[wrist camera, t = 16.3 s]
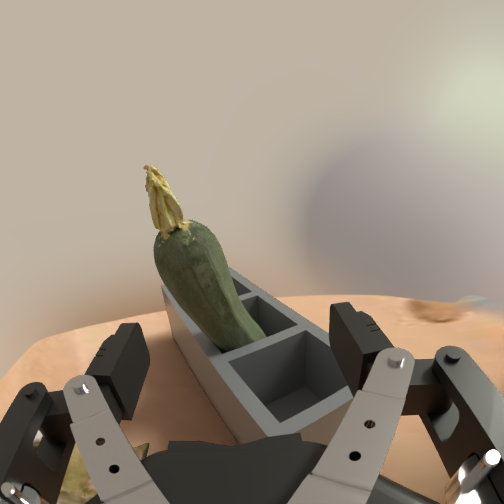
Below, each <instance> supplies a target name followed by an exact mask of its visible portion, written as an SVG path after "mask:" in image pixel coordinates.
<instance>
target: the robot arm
mask: <svg viewBox="0 0 504 504" xmlns="http://www.w3.org/2000/svg"><path fill="white" fill-rule="evenodd" d="M329 342H330V347H331V350H332V352H333V354H334V356H335V359H336V361H337V363H338V365H339V367H340V369H341V372H342V374H343V376H344V378H345V380H346V382H347V385H348V387H349V389H350V391H351V393H352V396H353V398H354V399H353V401H352V403H351V405H350V407H349V409H348V411H347V413H346V415H345V416H344V418H343V420H342V422H341V424H340V426H339V428H338V429H337V431H336V433H335V435H334V437H333V438H332V440H331V442H330V443H329V445H325V444H321V443H317V442H310V441H302V437H301V433H300V432H299V433H293V434H286V435H278V436H270V437H265V438H262V439H259V440H255V441H252V442H249V443H245V444H242V445H238V446H226V445H219V444H213V443H207V442H202V441H169V444H168V450H165V451H161V452H157V453H155V454H152V455H150V456H148V457H146V458H144V459H142V460H140V458H139V457H138V455H137V454H136V452H135V450H134V449H133V447H132V446H131V444H130V442H129V441H128V439H127V437H126V436H125V434H124V432H123V430H122V429H121V427H120V425H119V424H120V421H121V420H132V417H133V414H134V411H135V408H136V405H137V402H138V398H139V395H140V392H141V389H142V386H143V383H144V380H145V377H146V374H147V371H148V368H149V365H150V356H149V351H148V348H147V345H146V342H145V339H144V336H143V332H142V329H141V326H140V324H139V323H122V324H121V325H120V326H119V328H118V330H117V331H116V333H115V335H111V336H110V337H108V338H107V339H106V340H105V341H104V342H103V343H102V345H101V347H100V348H99V350H98V352H97V353H96V357H94V359H93V360H92V362H91V364H90V366H89V367H88V369H87V371H86V373H85V374H84V375H80V376H76V377H74V378H72V379H70V380H69V381H68V382H67V383H66V384H65V386H64V389H63V390H61V391H54V392H48V391H47V389H46V387H45V385H44V384H42V383H40V382H33V383H30V384H27V385H26V386H24V387H23V388H22V389H21V390H20V391H19V393H18V394H17V396H16V397H15V399H14V401H13V402H12V404H11V406H10V407H9V409H8V411H7V413H6V414H5V416H4V418H3V419H2V421H1V423H0V504H57V501H58V497H59V494H60V490H61V487H62V483H63V480H64V477H65V473H66V470H67V467H68V464H69V461H70V458H71V455H72V452H73V449H74V446H75V443H76V444H77V447H78V450H79V452H80V455H81V457H82V460H83V462H84V465H85V467H86V469H87V472H88V474H89V476H90V478H91V481H92V483H93V485H94V487H95V489H96V491H97V493H98V494H97V495H95V496H94V497H93V498H91V499H90V500H89V501H87V502H86V503H84V504H440V503H438V502H436V501H434V500H432V499H429V498H427V497H425V496H423V495H421V494H419V493H416V492H414V491H412V490H410V489H408V488H406V487H404V486H402V485H400V484H398V483H396V482H394V481H392V480H390V479H388V478H386V477H384V476H383V475H381V474H379V473H380V470H381V468H382V466H383V463H384V461H385V458H386V456H387V453H388V451H389V448H390V445H391V442H392V440H393V437H394V434H395V431H396V428H397V425H398V422H399V419H400V416H404V415H419V416H420V418H421V420H422V422H423V424H424V425H425V427H426V429H427V431H428V433H429V435H430V437H431V439H432V441H433V443H434V445H435V447H436V449H437V451H438V453H439V456H440V458H441V460H442V462H443V464H444V466H445V468H446V470H447V472H448V475H449V477H450V480H449V482H448V483H447V485H446V488H445V497H446V504H504V397H503V396H502V394H501V393H500V392H499V391H498V389H497V388H496V387H495V386H494V384H493V383H492V382H491V381H490V379H489V378H488V377H487V376H486V375H485V373H484V372H483V371H482V370H481V369H480V367H479V366H478V365H477V364H476V363H475V361H474V360H473V359H472V358H471V357H470V356H469V354H468V353H467V352H466V351H464V350H463V349H461V348H459V347H455V346H445V347H442V348H440V349H439V350H438V351H437V352H436V355H435V358H434V359H414V357H413V355H412V354H411V353H410V352H408V351H407V350H404V349H401V348H395V347H394V346H393V345H392V343H391V342H390V341H389V339H388V338H387V337H386V335H385V334H384V333H383V332H382V330H380V328H379V326H378V325H376V322H375V321H374V320H373V318H372V317H371V316H369V315H368V314H366V313H364V312H362V311H359V312H356V311H355V309H354V308H353V307H352V305H351V304H350V303H349V302H343V303H336V304H331V306H330V322H329ZM38 430H39V431H40V432H41V434H42V435H43V436H42V438H41V441H40V443H39V445H38V448H37V450H36V453H35V451H34V447H33V442H34V439H35V436H36V434H37V432H38Z"/></svg>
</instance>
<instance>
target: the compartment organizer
mask: <svg viewBox="0 0 504 504" xmlns="http://www.w3.org/2000/svg"><path fill="white" fill-rule="evenodd" d="M229 271H230V275H231V278H232V280H233V283H234V286H235V289H236V292H237V294H238V296H239V299H240V300H241V302H242V304H243V306H244V307H245V309H246V310H247V312H248V313H249V315H250V316H251V318H252V319H253V320H254V321H255V322H256V323H257V324H258V325H259V327H260V328H261V329H262V331H263V332H264V334H265V335H266V338H264V339H261V340H259V341H256V342H253V343H251V344H248V345H246V346H243V347H241V348H237V349H235V350H232V351H229V352H226V353H224V354H223V353H222V352H221V351H220V350H219V349H218V348H217V347H216V346H215V345H214V344H213V342H212V341H211V340H210V339H209V338H208V337H207V336H206V335H205V334H204V333H203V332H202V331H201V330H200V328H199V327H198V326H197V325H196V324H195V323H194V321H193V320H192V319H191V318H190V317H189V316H188V315H187V314H186V313H185V312H184V310H183V309H182V308H181V307H180V306H179V304H178V303H177V302H176V300H175V299H174V297H173V296H172V295H171V293H170V292H169V290H168V289H167V287H166V286H165V285H162V286H161V288H162V293H163V297H164V302H165V306H166V310H167V314H168V318H169V322H170V326H171V330H172V334H173V338H174V340H175V342H176V343H177V345H178V347H179V349H180V351H181V352H182V354H183V356H184V358H185V360H186V361H187V363H188V365H189V367H190V368H191V370H192V372H193V373H194V375H195V377H196V378H197V380H198V382H199V383H200V385H201V387H202V388H203V390H204V392H205V393H206V395H207V397H208V398H209V400H210V401H211V403H212V404H213V406H214V408H215V409H216V411H217V412H218V414H219V415H220V417H221V418H222V420H223V421H224V423H225V424H226V426H227V427H228V429H229V430H230V432H231V433H232V435H233V436H234V438H235V439H236V441H237V442H238V444H239V445H242V444H245V443H249V442H252V441H255V440H259V439H262V438H265V437H270V436H278V435H286V434H293V433H299V432H300V433H301V437H302V441H310V442H317V443H321V444H325V445H329V443H330V442H331V440H332V438H333V437H334V435H335V433H336V431H337V429H338V428H339V426H340V424H341V422H342V420H343V418H344V416H345V415H346V413H347V411H348V409H349V407H350V405H351V403H352V401H353V399H354V398H353V396H352V393H351V391H350V389H349V387H348V385H347V382H346V380H345V378H344V376H343V374H342V372H341V369H340V367H339V365H338V363H337V361H336V359H335V356H334V354H333V352H332V350H331V347H330V342H329V333H327V332H326V331H324V330H323V329H321V328H319V327H318V326H316V325H315V324H313V323H312V322H310V321H309V320H307V319H306V318H304V317H303V316H301V315H300V314H298V313H297V312H295V311H294V310H292V309H291V308H289V307H288V306H286V305H285V304H283V303H282V302H280V301H279V300H277V299H276V298H274V297H273V296H271V295H270V294H268V293H267V292H265V291H264V290H262V289H261V288H259V287H258V286H256V285H255V284H253V283H252V282H250V281H249V280H248V279H246V278H245V277H243V276H242V275H240V274H239V273H237V272H236V271H234V270H233V269H232V268H230V267H229Z"/></svg>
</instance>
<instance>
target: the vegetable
mask: <svg viewBox="0 0 504 504" xmlns="http://www.w3.org/2000/svg"><path fill="white" fill-rule="evenodd" d="M144 169H147V173H148V174H147V177H146V185H145V187H146V191H147V192H148V195H149V198H150V204H149V206H150V211H151V215H152V220H153V223H154V226H155V227H156V228H157V229H159V230H160V232H159V233H158V235H157V237H156V240H155V244H154V259H155V264H156V267H157V269H158V272H159V275H160V277H161V279H162V280H163V282H164V284H165V286H166V287H167V289H168V290H169V292H170V293H171V295H172V296H173V297H174V299H175V300H176V302H177V303H178V304H179V306H180V307H181V308H182V309H183V310H184V312H185V313H186V314H187V315H188V316H189V317H190V318H191V319H192V320H193V321H194V323H195V324H196V325H197V326H198V327H199V328H200V330H201V331H202V332H203V333H204V334H205V335H206V336H207V337H208V338H209V339H210V340H211V341H212V342H213V344H214V345H215V346H216V347H217V348H218V349H219V350H220V351H221V352H222V353H223V354H224V353H226V352H229V351H232V350H235V349H237V348H241V347H243V346H246V345H248V344H251V343H253V342H256V341H259V340H261V339H264V338H266V335H265V334H264V332H263V331H262V329H261V328H260V327H259V325H258V324H257V323H256V322H255V321H254V320H253V319H252V318H251V316H250V315H249V313H248V312H247V310H246V309H245V307H244V306H243V304H242V302H241V300H240V299H239V296H238V294H237V292H236V289H235V286H234V283H233V280H232V278H231V275H230V271H229V268H228V265H227V262H226V259H225V256H224V253H223V251H222V248H221V245H220V244H219V242H218V240H217V238H216V237H215V235H214V234H213V233H212V232H211V231H210V230H209V229H208V228H207V227H206V226H204V225H202V224H200V223H198V222H196V221H193V220H185V219H184V220H183V213H182V210H181V208H180V205H179V204H178V201H177V199H176V198H175V197H174V195H173V193H172V192H171V189H170V187H169V185H168V183H167V182H166V180H165V177H163V175H162V174H160V173H159V172H158V170H157V169H156V167H155V166H147V165H145V167H144Z"/></svg>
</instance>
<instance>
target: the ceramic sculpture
mask: <svg viewBox="0 0 504 504" xmlns="http://www.w3.org/2000/svg"><path fill="white" fill-rule="evenodd" d="M42 436H43V435H42V434H41V432H40V431H39V430H38V432H37V434H36V436H35V439H34V442H33V447H34V451H35V453H36V450H37V448H38V445H39V443H40V441H41V438H42ZM148 448H149V443H145V444H143V445H140V446H138V447H135V448H133V449H134V450H135V452H136V454H137V455H138V457H139V458H140V460H142V459H144V458H146V456H147V452H148ZM97 494H98V493H97V491H96V489H95V487H94V485H93V483H92V481H91V478H90V476H89V474H88V472H87V469H86V467H85V465H84V462H83V460H82V457H81V455H80V452H79V450H78V447H77V444H76V443H75V446H74V449H73V452H72V455H71V458H70V461H69V464H68V467H67V470H66V473H65V477H64V480H63V483H62V487H61V490H60V494H59V497H58V501H57V504H84V503H86V502H87V501H89V500H90V499H91V498H93V497H94V496H95V495H97Z"/></svg>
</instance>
